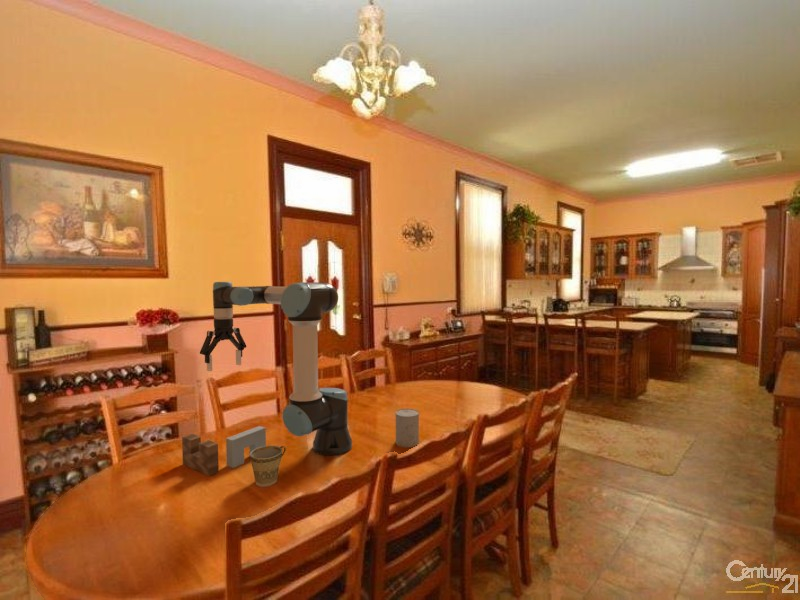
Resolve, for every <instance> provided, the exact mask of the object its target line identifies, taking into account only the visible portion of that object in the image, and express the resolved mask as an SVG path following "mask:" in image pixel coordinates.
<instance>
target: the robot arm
mask: <svg viewBox="0 0 800 600" xmlns="http://www.w3.org/2000/svg"><path fill="white" fill-rule="evenodd" d="M212 299H213V300H212V302H213V318H214V319H213V327H214V328H213V329H214V330H207V332H206V337H205V339H204V341H203V344H202V346H201V348H200V350H199V354H200V355H203V356H204V363H205V364H206V371H209V372H213V355H212V354H211V353H213V351H214V349H215V348H216V347H217V346H218V343H220V342H221V341H227V340H229V341H230V343H231V344H232V345H233V346H234V347H235V348H236V349H235V365H237V366H242V357H243V350H244V349H245V348H247V344H246V342H245V341H244V338H243V336H242V335H241V329H240V328H239V327H234V328H233V326H234V319H233V317H234V306H247V305H257V304H258V305H261V304H268V305H280V308H281V310H282V312H283V314H284V315H286V317H288V319H287V321H288V322H289V323H290V324H291V325H292V353H293V354H292V355H293V357H292V359H293V361H292V362H293V365H292V367H293V369H292V371H293V392H291V394H290V395H289V396H288V397H289V398H288V399H289V400H288V401H289V404H288V405H286V406H285V407H284V409H283V410H282V414H281V415H282V422H283V424H284V427H285V428H286V429H287V431H288V432H289V433H290V434H292V435H293V436H295V437H303V436H305V435H306V436H307V435H309V434H311V433H313V432H315V431H316V432H315V436H314V439H313V441H312V450H313V452H314V453H316V454H318V455H322V456H337V455H341V454H344V453H347V452H348V451H350V450H351V449H352V448H353V440H352V437H351V434H350V430H349V428H348V401H349V399H348V393H347V391H346V390H344V389H342V388H338V387H337V388H336V387H321V388H319V365H318V364H319V362H318V361H319V359H318V358H319V355H318V354H319V350H318V349H319V348H318V345H319V344H318V343H319V342H318V340H319V339H318V334H319V333H318V325H319V323H320V322H321V321H323V319H322V318H323V316H322V314H326V313H329V312H331V311H332V310H334V309H335V308H336V306H337V304H338V303H339V302H338V301H339V294H338V291H337V289H336V288H335V286H333V285H332V284H330V283H328V282H323V281H322V282H321V281H319V282H313V281H311V282H310V281H309V282H303V281H301V282H294V283H291V284H289V285H288V286H273V285H260V286H257V285H256V286H233V283H232V282H231V281H215V282H213V284H212ZM233 333H234V335H235V336H234V335H233Z"/></svg>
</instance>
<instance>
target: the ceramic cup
mask: <svg viewBox="0 0 800 600" xmlns="http://www.w3.org/2000/svg"><path fill="white" fill-rule="evenodd" d="M286 449H287V447H285V446H284V445H282V446H279V445H278V446H277V445H266V446H262V447H259V448H256V449H254V450H253V451H251V453H250V452H249V457H250V458H249V459H250V463H251V467H252V471H253V476H254V481H255V485H256V486H258V487H260V488H263V487H270V486H272V485H275V484H276V483H277V481H278V477H279V476H278V475H279V469H280V465H281V461H282V458H283V456H284V455H285V453H286Z"/></svg>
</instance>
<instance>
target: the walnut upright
mask: <svg viewBox="0 0 800 600" xmlns="http://www.w3.org/2000/svg"><path fill="white" fill-rule="evenodd" d="M201 439H202V438H201V436H199V435H197V434H195V433H190V434H186V435H184V436H182V437H181V442H182V444H181V446H182V448H181V449H182V465H183V466H185V467H188V468H190V469H191V470H194V471H197V472H199V473H201V474H203V475H205V476H207V477H210V476H213V475H215V473H216V474H218V473H219V471H220V470H219V469H220V468H219V466H220V465H219V443H217V442H215V441H213V440H210V439H207V440H204V441H202V442H201Z"/></svg>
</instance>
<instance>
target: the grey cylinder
mask: <svg viewBox="0 0 800 600" xmlns="http://www.w3.org/2000/svg"><path fill="white" fill-rule="evenodd" d="M419 421H420V412H419V410H417V409H414V408H401V409H397V410H396V411H395V444H396V446H398V447H401V448H413V447H416V445H417V444H418V445H419V444H420V441H419V440H420V429H419V428H420V422H419ZM418 445H417V446H418Z"/></svg>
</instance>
